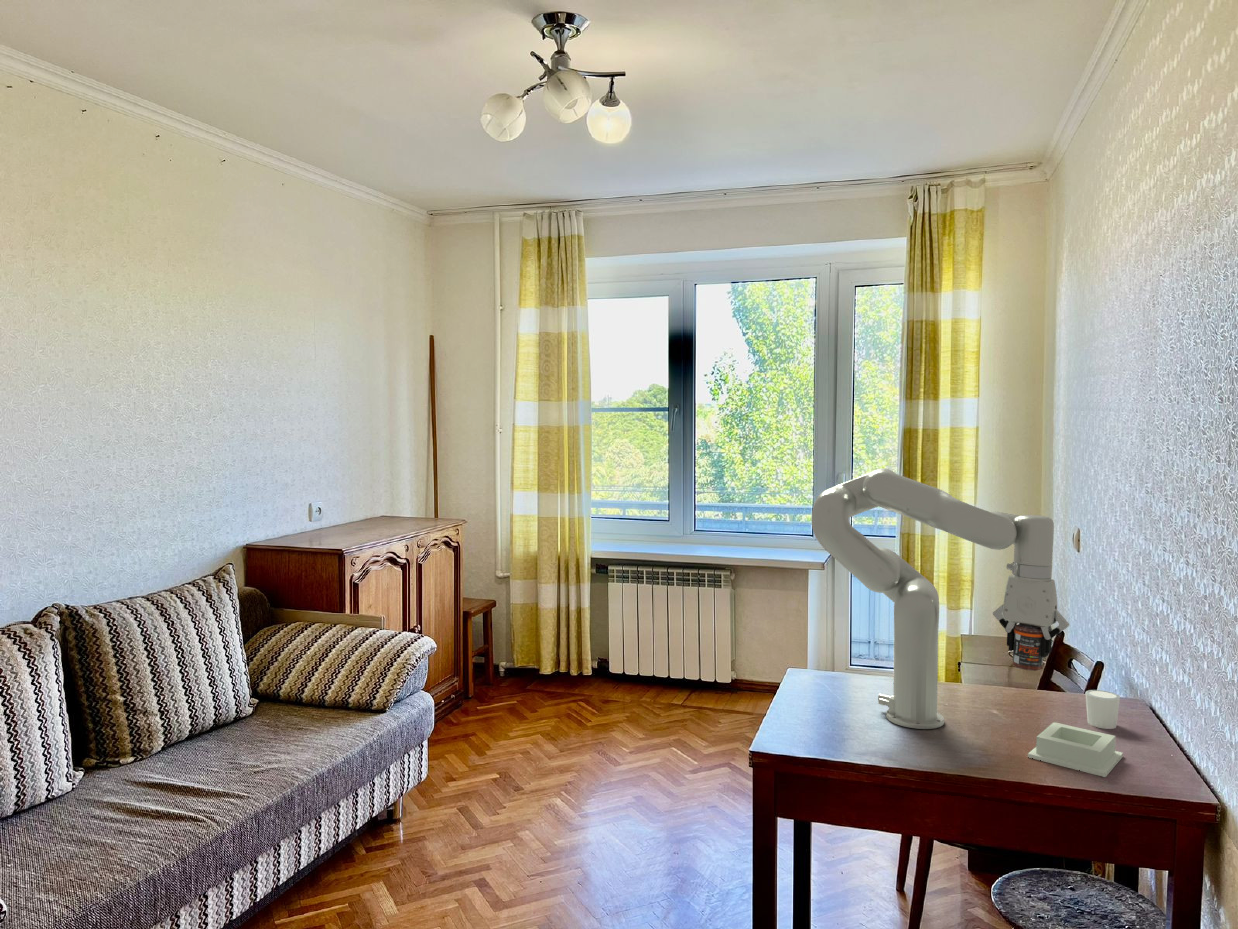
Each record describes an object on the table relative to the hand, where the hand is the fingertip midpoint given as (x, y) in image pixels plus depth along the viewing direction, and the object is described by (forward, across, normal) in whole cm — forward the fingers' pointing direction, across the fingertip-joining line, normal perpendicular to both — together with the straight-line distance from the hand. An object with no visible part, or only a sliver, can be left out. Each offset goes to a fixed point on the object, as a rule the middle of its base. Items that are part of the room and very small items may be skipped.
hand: (1028, 652), depth 180 cm
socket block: (+18, +12, -7) cm, 23 cm away
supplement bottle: (+4, 0, 0) cm, 4 cm away
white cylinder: (+18, +11, +18) cm, 28 cm away
